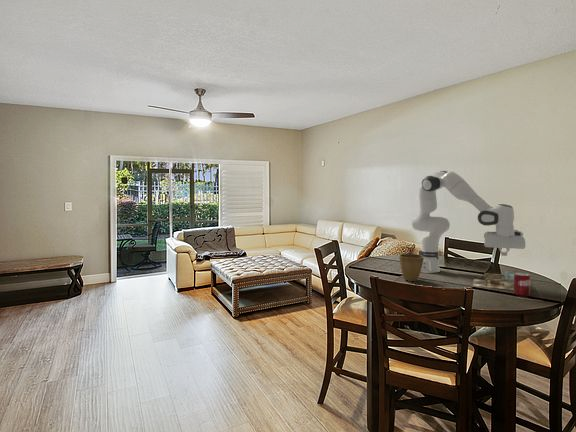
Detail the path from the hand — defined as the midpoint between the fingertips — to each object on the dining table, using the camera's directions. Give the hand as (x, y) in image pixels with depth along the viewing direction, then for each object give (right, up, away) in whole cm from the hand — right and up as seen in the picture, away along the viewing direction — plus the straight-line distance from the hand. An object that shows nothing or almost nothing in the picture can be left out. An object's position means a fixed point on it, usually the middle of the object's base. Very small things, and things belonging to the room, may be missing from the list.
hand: (503, 255), depth 197 cm
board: (-3, -19, +2) cm, 19 cm away
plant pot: (-47, -18, +20) cm, 54 cm away
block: (-4, -18, +3) cm, 18 cm away
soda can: (-1, -20, -16) cm, 26 cm away
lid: (+4, -13, -2) cm, 14 cm away
